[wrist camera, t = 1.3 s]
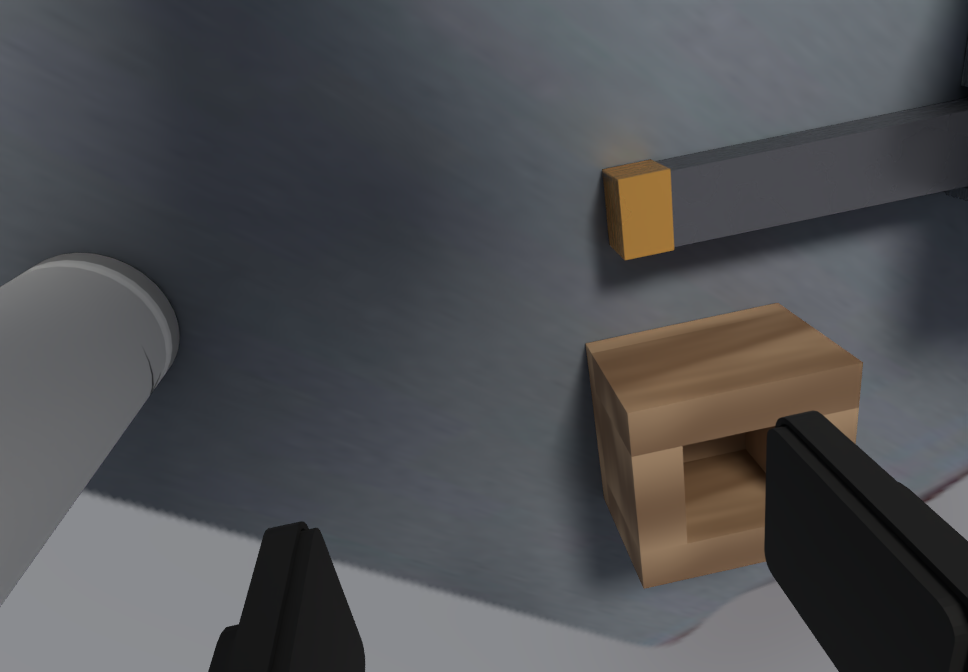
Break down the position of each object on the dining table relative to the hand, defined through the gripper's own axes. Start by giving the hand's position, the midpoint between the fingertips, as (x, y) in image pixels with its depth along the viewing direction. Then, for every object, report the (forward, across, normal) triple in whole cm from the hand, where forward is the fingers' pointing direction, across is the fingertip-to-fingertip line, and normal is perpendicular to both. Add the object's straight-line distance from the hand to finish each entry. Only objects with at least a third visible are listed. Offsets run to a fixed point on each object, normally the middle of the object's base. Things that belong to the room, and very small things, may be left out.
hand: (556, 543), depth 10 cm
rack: (+18, -9, +10) cm, 22 cm away
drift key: (+18, -14, 0) cm, 23 cm away
